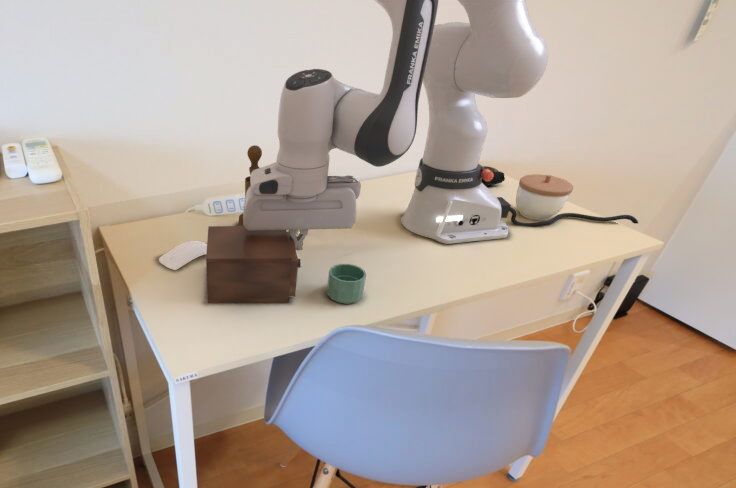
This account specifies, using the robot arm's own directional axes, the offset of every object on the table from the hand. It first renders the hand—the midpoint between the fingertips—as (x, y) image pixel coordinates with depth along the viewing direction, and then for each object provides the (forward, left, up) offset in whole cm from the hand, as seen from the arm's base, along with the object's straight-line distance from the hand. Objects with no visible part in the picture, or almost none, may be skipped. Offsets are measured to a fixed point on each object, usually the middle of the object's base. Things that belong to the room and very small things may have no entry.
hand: (296, 248), depth 98 cm
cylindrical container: (-8, +7, -6) cm, 13 cm away
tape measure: (-55, -46, -6) cm, 71 cm away
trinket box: (-59, -27, -6) cm, 65 cm away
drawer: (+7, +3, -5) cm, 9 cm away
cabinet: (+9, +3, -6) cm, 11 cm away
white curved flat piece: (+21, -8, -6) cm, 23 cm away
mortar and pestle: (+7, -22, -6) cm, 24 cm away
